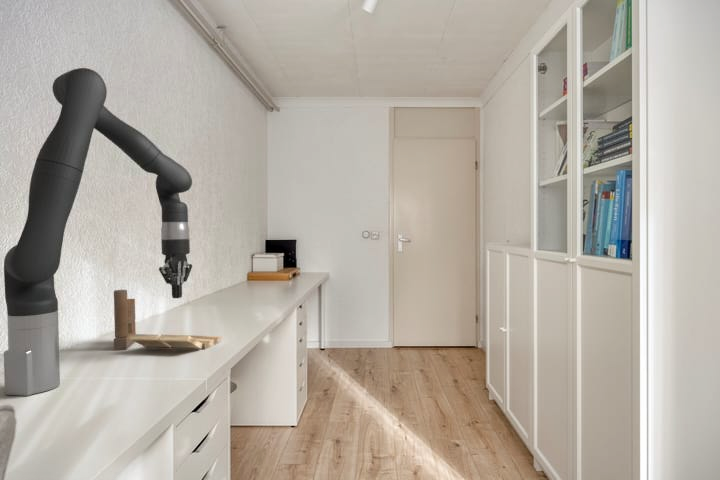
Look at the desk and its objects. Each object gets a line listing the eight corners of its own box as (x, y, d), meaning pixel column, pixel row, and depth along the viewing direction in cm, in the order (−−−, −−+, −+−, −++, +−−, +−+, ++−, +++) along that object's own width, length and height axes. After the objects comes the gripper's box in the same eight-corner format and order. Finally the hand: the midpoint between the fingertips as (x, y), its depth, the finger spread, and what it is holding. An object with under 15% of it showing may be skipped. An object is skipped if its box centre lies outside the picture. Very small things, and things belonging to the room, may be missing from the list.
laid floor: (204, 349, 132) (204, 343, 132) (145, 347, 136) (145, 341, 136) (221, 341, 142) (221, 336, 142) (165, 339, 146) (165, 334, 146)
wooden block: (136, 341, 144) (134, 286, 144) (126, 349, 134) (125, 290, 134) (123, 342, 143) (122, 287, 143) (113, 350, 133) (111, 291, 133)
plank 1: (156, 339, 127) (157, 334, 127) (129, 339, 128) (130, 334, 129) (171, 347, 133) (172, 342, 134) (145, 346, 135) (147, 341, 136)
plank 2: (187, 340, 125) (188, 335, 125) (159, 339, 126) (161, 334, 127) (201, 348, 131) (202, 343, 132) (174, 347, 133) (176, 342, 134)
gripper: (173, 238, 120) (174, 301, 120) (199, 237, 133) (201, 294, 133) (148, 238, 122) (150, 301, 122) (177, 238, 134) (179, 294, 135)
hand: (177, 297), depth 127 cm, fingers closed
